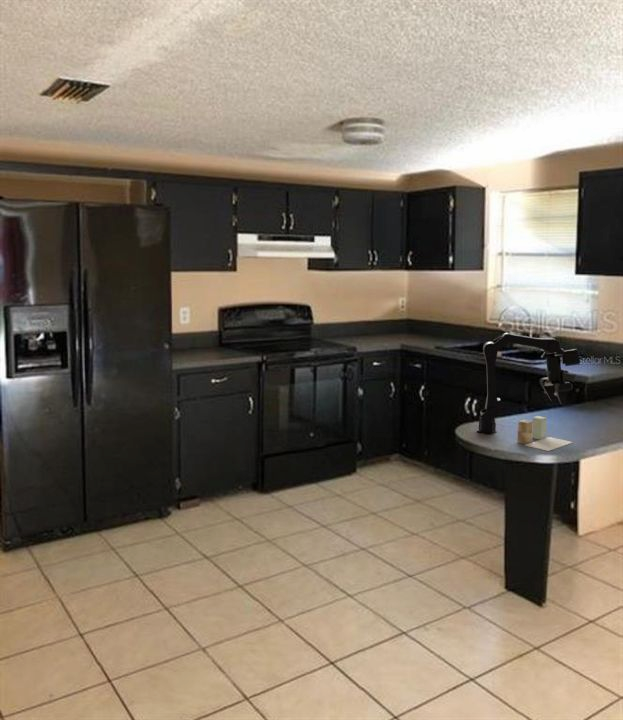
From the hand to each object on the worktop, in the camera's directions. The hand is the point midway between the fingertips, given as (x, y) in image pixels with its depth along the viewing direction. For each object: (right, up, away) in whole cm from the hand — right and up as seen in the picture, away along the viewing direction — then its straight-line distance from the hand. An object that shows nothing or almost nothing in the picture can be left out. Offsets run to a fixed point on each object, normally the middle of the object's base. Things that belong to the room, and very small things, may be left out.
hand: (557, 403), depth 295 cm
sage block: (-9, -15, -2) cm, 17 cm away
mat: (-8, -16, -11) cm, 21 cm away
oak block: (-17, -16, -9) cm, 25 cm away
